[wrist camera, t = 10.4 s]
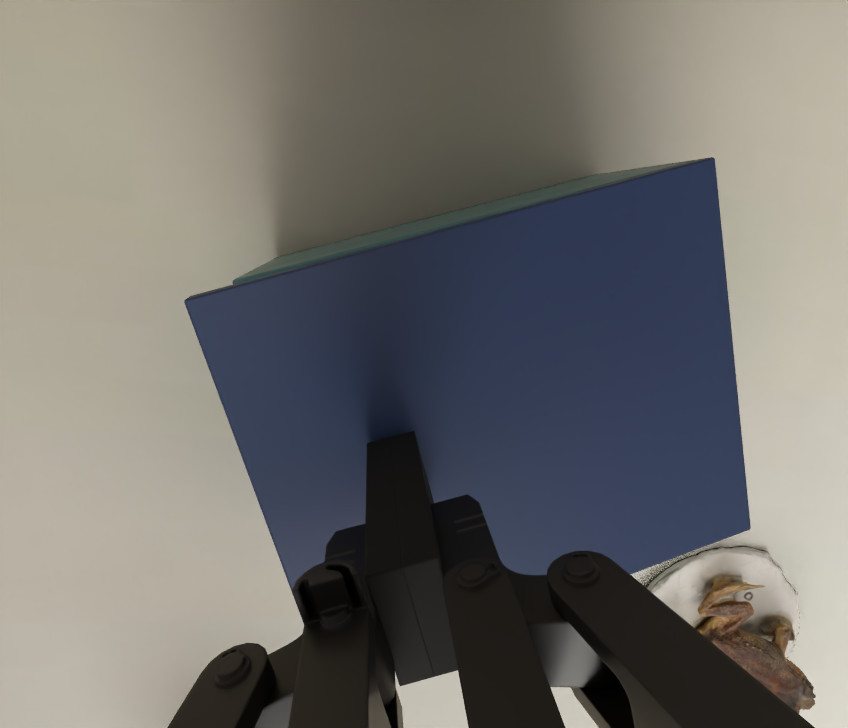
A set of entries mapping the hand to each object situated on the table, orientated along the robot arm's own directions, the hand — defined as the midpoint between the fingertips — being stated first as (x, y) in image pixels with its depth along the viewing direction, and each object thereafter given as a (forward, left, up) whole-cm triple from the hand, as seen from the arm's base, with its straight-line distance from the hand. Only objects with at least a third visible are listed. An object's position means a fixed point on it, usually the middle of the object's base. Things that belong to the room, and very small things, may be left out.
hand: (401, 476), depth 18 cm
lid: (-4, 0, -2) cm, 4 cm away
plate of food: (-15, +21, -12) cm, 28 cm away
